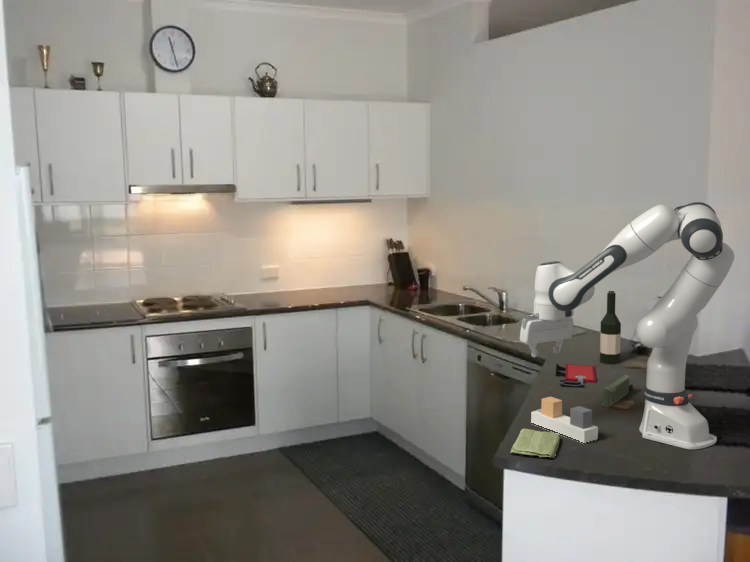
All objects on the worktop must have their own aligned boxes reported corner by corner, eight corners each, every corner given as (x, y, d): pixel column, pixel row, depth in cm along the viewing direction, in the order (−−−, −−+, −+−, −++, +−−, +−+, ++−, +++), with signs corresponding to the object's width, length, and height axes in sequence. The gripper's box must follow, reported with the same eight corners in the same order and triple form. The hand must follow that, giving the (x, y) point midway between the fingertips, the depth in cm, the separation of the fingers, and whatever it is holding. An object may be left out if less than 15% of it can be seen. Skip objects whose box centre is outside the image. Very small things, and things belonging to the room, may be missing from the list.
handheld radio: (600, 406, 258) (626, 388, 278) (609, 408, 256) (635, 390, 276) (601, 388, 257) (627, 371, 276) (611, 390, 255) (636, 373, 274)
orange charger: (561, 421, 238) (562, 400, 237) (553, 424, 236) (553, 402, 235) (550, 417, 242) (550, 396, 241) (541, 420, 240) (541, 398, 239)
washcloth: (509, 457, 217) (509, 446, 216) (520, 436, 233) (520, 426, 233) (555, 462, 212) (555, 451, 212) (563, 440, 229) (563, 430, 228)
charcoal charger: (591, 432, 228) (592, 410, 227) (582, 435, 226) (583, 412, 225) (578, 427, 232) (579, 405, 231) (570, 430, 230) (570, 408, 229)
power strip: (597, 439, 228) (598, 424, 227) (584, 443, 224) (584, 429, 224) (544, 419, 246) (544, 406, 245) (531, 423, 242) (531, 410, 242)
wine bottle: (622, 360, 315) (624, 290, 310) (617, 365, 308) (619, 293, 304) (602, 358, 320) (604, 289, 315) (596, 362, 313) (598, 292, 308)
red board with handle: (554, 386, 282) (596, 389, 278) (555, 379, 281) (596, 382, 277) (556, 366, 310) (593, 369, 307) (556, 360, 310) (594, 362, 306)
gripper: (530, 317, 228) (528, 361, 230) (577, 310, 239) (575, 352, 241) (516, 313, 234) (514, 356, 236) (563, 307, 244) (561, 348, 246)
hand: (545, 354), depth 238 cm, fingers open, 8 cm apart
